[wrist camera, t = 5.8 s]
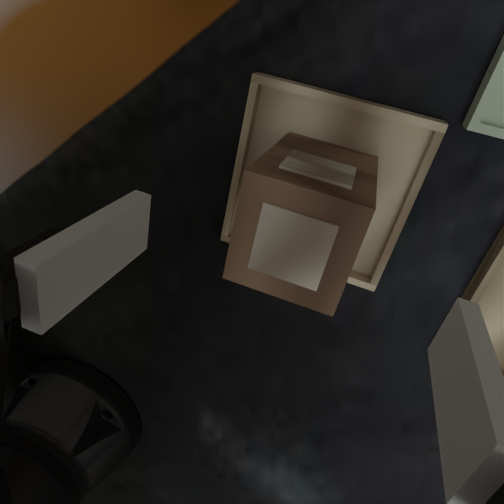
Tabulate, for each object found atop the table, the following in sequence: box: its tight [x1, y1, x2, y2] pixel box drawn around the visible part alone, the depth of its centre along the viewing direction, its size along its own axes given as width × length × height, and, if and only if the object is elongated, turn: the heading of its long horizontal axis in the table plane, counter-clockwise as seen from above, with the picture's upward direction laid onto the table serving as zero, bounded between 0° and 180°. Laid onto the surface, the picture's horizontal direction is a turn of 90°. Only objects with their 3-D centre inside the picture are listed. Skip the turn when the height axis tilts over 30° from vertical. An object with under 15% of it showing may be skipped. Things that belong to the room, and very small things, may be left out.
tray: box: [220, 72, 448, 291], centre depth 27 cm, size 12×12×2 cm
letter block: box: [222, 132, 378, 317], centre depth 23 cm, size 6×6×10 cm
